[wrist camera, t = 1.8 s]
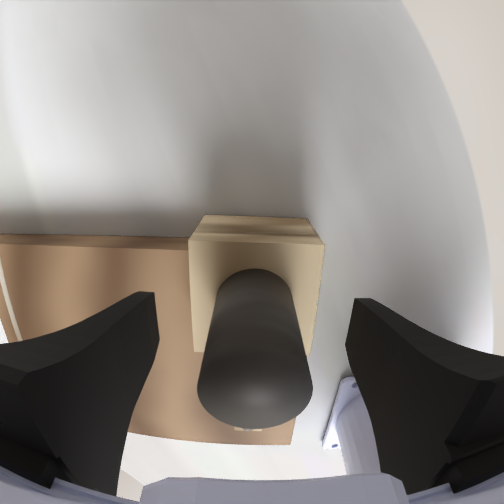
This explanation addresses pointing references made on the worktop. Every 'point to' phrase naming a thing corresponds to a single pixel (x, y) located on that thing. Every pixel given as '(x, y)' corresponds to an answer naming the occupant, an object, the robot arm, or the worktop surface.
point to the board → (108, 293)
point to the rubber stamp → (254, 316)
